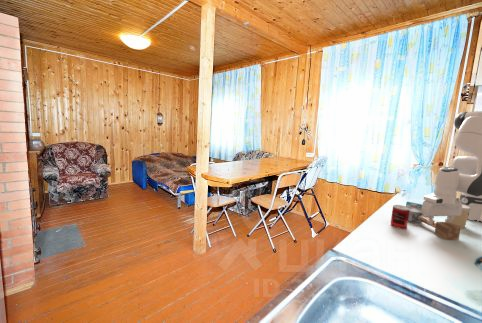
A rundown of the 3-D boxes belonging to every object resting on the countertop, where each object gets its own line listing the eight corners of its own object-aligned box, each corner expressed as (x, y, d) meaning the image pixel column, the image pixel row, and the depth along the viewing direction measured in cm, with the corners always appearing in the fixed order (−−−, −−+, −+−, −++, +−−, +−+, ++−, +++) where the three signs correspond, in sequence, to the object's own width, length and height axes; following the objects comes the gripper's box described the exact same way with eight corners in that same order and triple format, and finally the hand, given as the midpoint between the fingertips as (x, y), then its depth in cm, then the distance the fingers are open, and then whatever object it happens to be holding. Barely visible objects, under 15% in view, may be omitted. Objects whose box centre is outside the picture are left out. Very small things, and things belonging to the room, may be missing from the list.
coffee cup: (471, 229, 127) (475, 209, 125) (451, 227, 129) (455, 207, 127) (458, 223, 136) (462, 203, 134) (440, 221, 138) (444, 202, 136)
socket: (446, 234, 120) (448, 221, 119) (458, 239, 114) (461, 226, 113) (434, 234, 119) (436, 221, 118) (445, 239, 113) (448, 226, 112)
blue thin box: (405, 210, 155) (406, 201, 154) (405, 209, 156) (407, 201, 155) (427, 215, 146) (429, 206, 146) (428, 215, 147) (429, 206, 147)
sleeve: (413, 218, 140) (414, 208, 139) (421, 222, 134) (423, 212, 133) (403, 218, 139) (404, 208, 138) (411, 222, 133) (413, 212, 132)
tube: (423, 221, 132) (424, 215, 131) (451, 234, 116) (452, 227, 115) (416, 221, 131) (417, 215, 131) (444, 234, 116) (445, 227, 115)
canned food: (401, 223, 132) (404, 205, 130) (410, 229, 124) (413, 210, 122) (387, 222, 132) (390, 204, 131) (395, 228, 125) (398, 209, 123)
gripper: (455, 196, 123) (451, 220, 125) (420, 196, 120) (417, 221, 123) (468, 200, 116) (463, 225, 119) (431, 200, 114) (427, 226, 116)
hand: (439, 223), depth 121 cm, fingers open, 8 cm apart
